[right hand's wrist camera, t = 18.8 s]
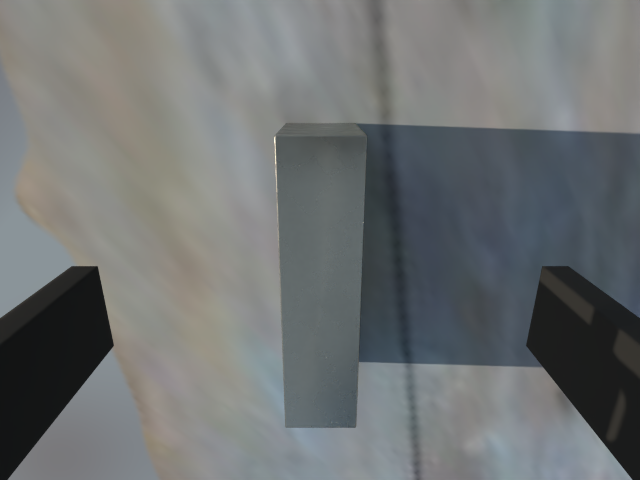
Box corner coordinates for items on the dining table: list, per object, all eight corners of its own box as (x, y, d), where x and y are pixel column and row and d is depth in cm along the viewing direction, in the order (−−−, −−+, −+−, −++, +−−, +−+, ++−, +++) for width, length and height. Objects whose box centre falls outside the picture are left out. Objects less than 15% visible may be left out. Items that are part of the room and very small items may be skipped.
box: (285, 123, 34) (274, 135, 26) (355, 123, 34) (367, 135, 26) (292, 360, 42) (285, 427, 34) (349, 360, 42) (356, 427, 34)
